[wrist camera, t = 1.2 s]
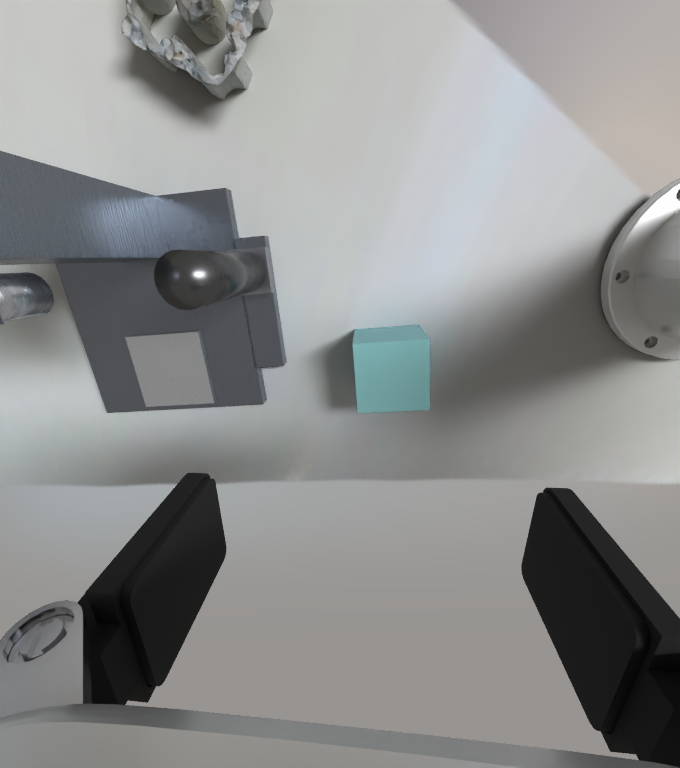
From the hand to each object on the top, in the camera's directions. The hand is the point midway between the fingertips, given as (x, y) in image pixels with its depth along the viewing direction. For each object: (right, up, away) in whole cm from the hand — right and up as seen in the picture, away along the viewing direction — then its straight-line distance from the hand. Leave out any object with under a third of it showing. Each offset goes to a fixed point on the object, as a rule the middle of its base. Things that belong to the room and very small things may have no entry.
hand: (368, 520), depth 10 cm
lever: (-7, +12, +15) cm, 20 cm away
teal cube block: (+3, +6, +18) cm, 19 cm away
